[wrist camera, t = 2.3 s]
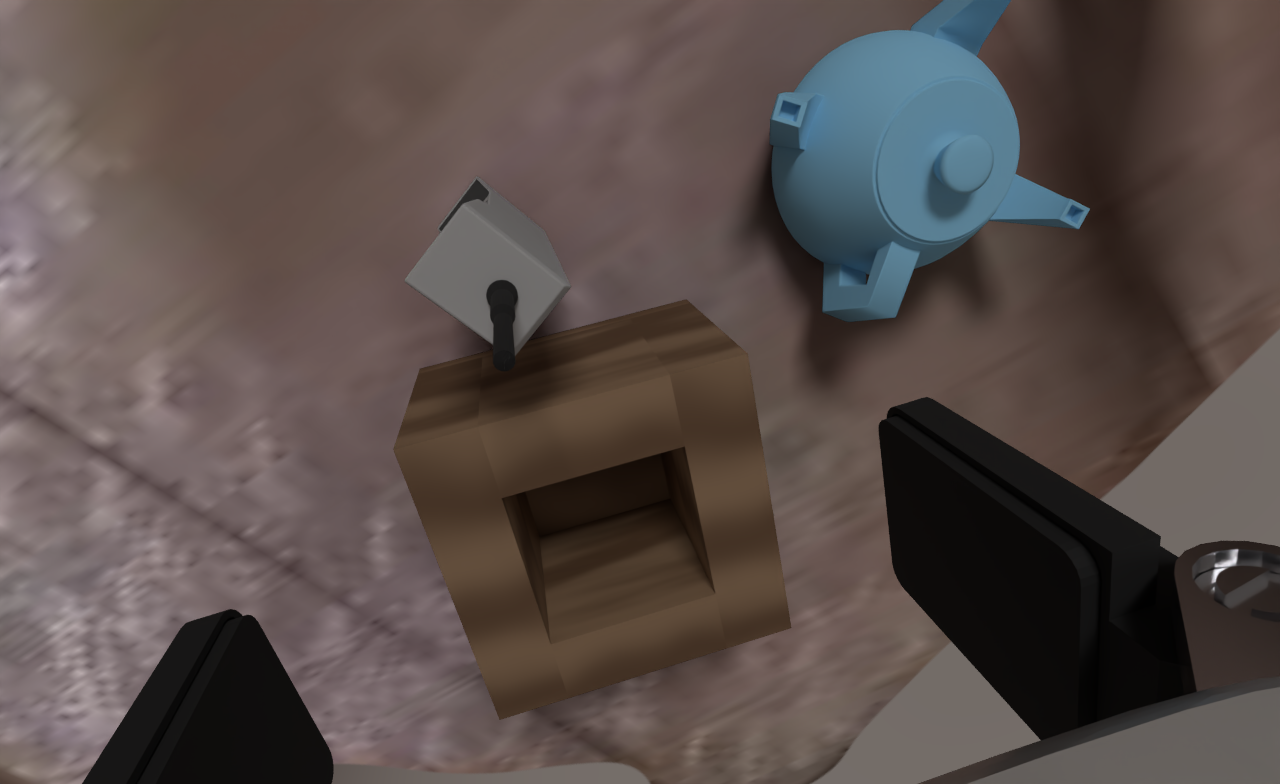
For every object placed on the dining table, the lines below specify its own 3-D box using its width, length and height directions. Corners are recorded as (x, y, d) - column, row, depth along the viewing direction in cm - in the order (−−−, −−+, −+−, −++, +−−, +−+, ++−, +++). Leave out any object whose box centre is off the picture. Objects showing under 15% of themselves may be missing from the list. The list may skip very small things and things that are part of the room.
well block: (419, 368, 43) (393, 449, 32) (686, 299, 45) (747, 353, 34) (499, 590, 50) (499, 719, 39) (728, 522, 52) (791, 627, 41)
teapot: (709, 96, 41) (776, 85, 31) (931, -28, 41) (1069, -79, 31) (801, 314, 47) (882, 362, 37) (994, 206, 47) (1127, 226, 37)
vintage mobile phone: (476, 174, 40) (449, 232, 17) (545, 230, 42) (603, 351, 19) (438, 225, 41) (360, 348, 18) (507, 278, 42) (519, 452, 19)
